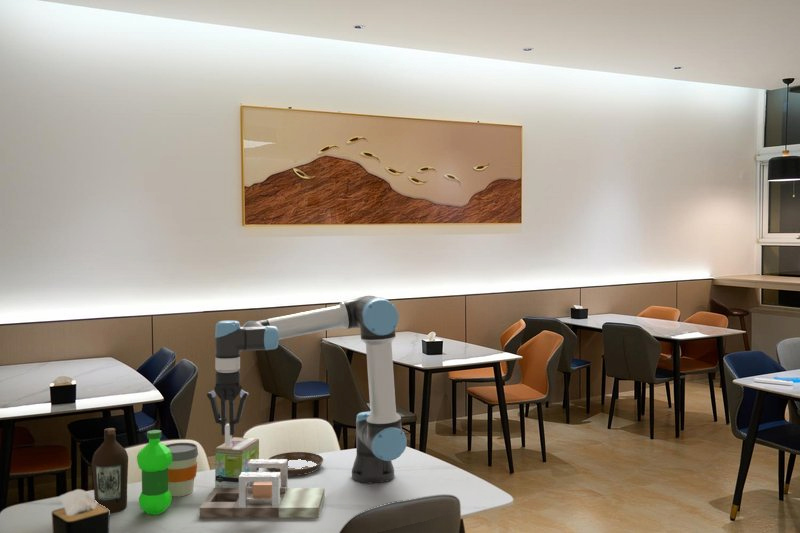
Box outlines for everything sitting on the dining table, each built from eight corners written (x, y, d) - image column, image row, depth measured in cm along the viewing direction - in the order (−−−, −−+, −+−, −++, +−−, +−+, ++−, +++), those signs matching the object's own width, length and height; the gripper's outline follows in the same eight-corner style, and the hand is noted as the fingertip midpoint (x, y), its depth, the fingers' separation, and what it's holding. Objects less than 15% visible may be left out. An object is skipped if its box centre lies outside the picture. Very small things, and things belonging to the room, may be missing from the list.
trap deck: (324, 497, 247) (324, 487, 247) (318, 517, 229) (318, 507, 229) (214, 497, 247) (214, 488, 247) (199, 517, 229) (199, 507, 229)
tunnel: (287, 487, 247) (287, 459, 247) (278, 507, 229) (278, 476, 229) (250, 487, 247) (250, 459, 247) (239, 507, 229) (238, 476, 229)
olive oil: (95, 503, 242) (94, 426, 241) (131, 500, 244) (129, 424, 243) (90, 515, 231) (88, 434, 230) (126, 512, 234) (125, 432, 233)
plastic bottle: (139, 519, 228) (138, 437, 227) (137, 508, 237) (135, 429, 236) (174, 514, 232) (173, 434, 231) (170, 503, 241) (169, 426, 240)
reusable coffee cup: (206, 488, 256) (205, 444, 255) (181, 500, 244) (180, 454, 244) (177, 483, 261) (176, 440, 260) (151, 495, 249) (150, 450, 249)
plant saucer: (320, 477, 268) (319, 468, 268) (261, 477, 268) (261, 468, 268) (326, 460, 289) (326, 451, 288) (272, 460, 289) (272, 451, 289)
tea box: (242, 493, 251) (242, 449, 250) (214, 491, 253) (213, 447, 252) (259, 479, 266) (259, 437, 265) (233, 477, 268) (232, 436, 267)
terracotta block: (275, 494, 241) (275, 478, 241) (272, 500, 235) (272, 484, 235) (256, 494, 241) (256, 478, 241) (252, 500, 235) (252, 484, 235)
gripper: (251, 368, 240) (251, 442, 241) (210, 368, 240) (210, 441, 241) (246, 372, 233) (246, 448, 234) (203, 372, 233) (204, 448, 234)
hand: (228, 445), depth 238 cm, fingers closed
